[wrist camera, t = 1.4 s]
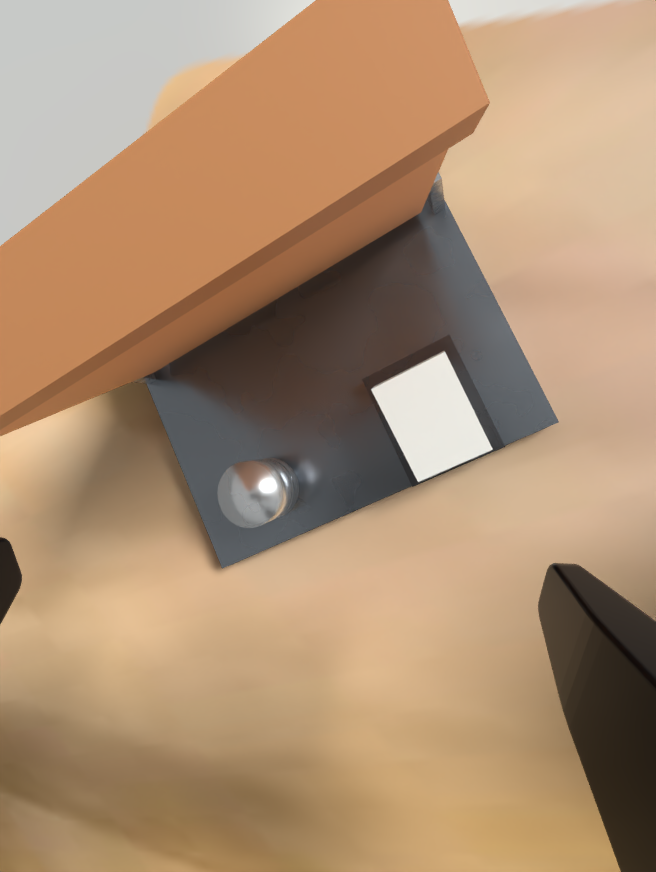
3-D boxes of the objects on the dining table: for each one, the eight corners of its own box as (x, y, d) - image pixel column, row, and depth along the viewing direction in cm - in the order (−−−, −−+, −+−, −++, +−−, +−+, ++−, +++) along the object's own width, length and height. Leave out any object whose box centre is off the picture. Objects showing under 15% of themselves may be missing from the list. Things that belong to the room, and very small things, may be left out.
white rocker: (488, 442, 15) (493, 449, 14) (418, 473, 16) (418, 482, 15) (443, 350, 15) (445, 351, 14) (374, 385, 15) (370, 389, 14)
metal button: (309, 503, 17) (288, 512, 15) (258, 526, 18) (232, 538, 16) (284, 448, 17) (261, 450, 16) (236, 472, 18) (207, 477, 16)
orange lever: (426, 216, 16) (489, 102, 5) (155, 378, 19) (-150, 512, 8) (401, 163, 15) (417, -78, 5) (128, 337, 18) (-228, 423, 8)
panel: (553, 422, 16) (571, 420, 13) (234, 561, 20) (193, 584, 17) (413, 148, 17) (401, 92, 14) (137, 325, 21) (83, 309, 18)
